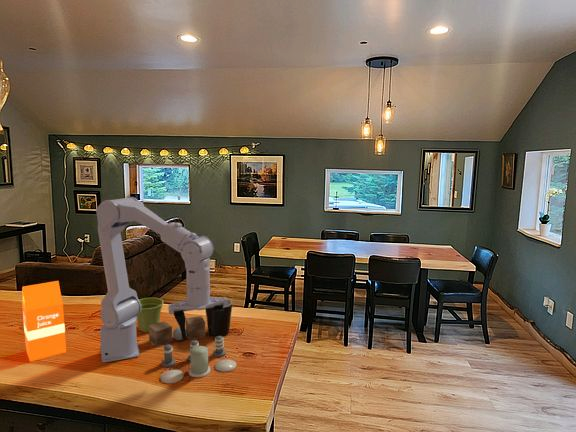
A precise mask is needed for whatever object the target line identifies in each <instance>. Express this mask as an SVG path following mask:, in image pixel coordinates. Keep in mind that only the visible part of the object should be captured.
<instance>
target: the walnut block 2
mask: <svg viewBox="0 0 576 432" xmlns="http://www.w3.org/2000/svg"><path fill="white" fill-rule="evenodd" d="M185 329H186V332H187V334H186V337H187V338H188V340H189V341H191V340H197V339H202V338H206V321H205V319H204V318H203V316H202V315H199V316H193V317H186V320H185Z"/></svg>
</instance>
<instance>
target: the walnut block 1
mask: <svg viewBox="0 0 576 432" xmlns="http://www.w3.org/2000/svg"><path fill="white" fill-rule="evenodd" d="M148 341H149V342H150V343H151V344H153V346H154V347H156V348H157V347H161V346H165V345H168V344H170V343H172V342H173V325H171V324H169V323H168V322H166V321H165V320H164V321H163V320H162V321H159V323H156V324H153V325H149V332H148Z"/></svg>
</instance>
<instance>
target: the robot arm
mask: <svg viewBox="0 0 576 432" xmlns="http://www.w3.org/2000/svg"><path fill="white" fill-rule="evenodd" d="M95 212H96V217H97V233H98V238H99V246H100V251H101V257H102V263H103V268H104V269H103V270H104V274H105V280H106V281H105V282H106V288H107V292H106V294H105V295H104V297H103V298H102V299H101V301H100V304H101V305H100V306H101V309H100V319H101V322H102V323H103V325H101V326H100V327H99V328H100V334H99V335H100V337H99V338H100V345H99V353H100V355H101V363H109V362H114V361H120V360H126V359H132V358H137V357H140V349H139V344H138V343H139V342H137V341H138V340H137V339H138V337H137V315H139V314H140V312H141V303H140V301H139V300H140V299H139V297H138V293H137V291H136V290H135V289H132V288H131V287H130V284H129V277H128V272H127V266H126V259H125V253H124V252H125V251H124V246H123V239H122V234H121V233H122V232H123V230H124V229H125V228H126V227H127V226H128V225H129V224H130V223H132V222H137V223H138V224H141V225H142V226H144V227H145V228H148V229H149V230H151V231H153V232H155V233H157V234H158V235H160V240H161V242H163V243H164V244H166V245H168V246H169V247H170V248H172V249H173V250H175V251H177V252H178V253H179V254H180V256H181V258H182V260H183V261H184V267H185V271H186V276H185V277H186V299H185V300H182V301H178V302H175V303H170V304H168V314H169V315H173V316H174V319H175V321H176V322H177V324H178V327H180V330H181V335H182V339H183V340H182V341H186V340H187V334H186V332H185V329H186V318H187V317H186V315H185V312H190V311H204V310H205V309H206V308H211V315H212V324H211V330H212V334H213V335H216V331H217V327H218V324H219V321H220V319H221V317H222V315H223V314H224V308H223V307H227V299H228V298H227V297H225V296H224V297H211V285H210V284H211V281H210V279H211V275H210V271H211V270H210V269H211V268H210V267H211V266H210V265H211V264H210V263H211V262H210V261H211V259H210V257H212V255H213V254H214V251H215V247H214V244H213V242H212V240H211V239H209V237H208V236H205V235H201V236H198V235H197V233H196V232H191V231H190V230H188V229H186V228H185V227H184V226H183V224H182V223H180V222H173V221H172V222H169V223H168V222H167V221H166V220H164V219H163V218H162V217H159V215H157V214H156V213H155V212H154V211H152V210H150V209H149V208H147V207H146V206H145V205H144V202H143V201H142V200H138V199H137V198H136V197H134V196H129V197H125V198H116V199H105V200H103V201H102V202H101V203H99V205H98V206H97V208H96V210H95ZM226 298H227V299H226ZM205 311H206V310H205Z"/></svg>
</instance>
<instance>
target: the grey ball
mask: <svg viewBox="0 0 576 432" xmlns="http://www.w3.org/2000/svg"><path fill="white" fill-rule="evenodd" d="M185 332H186V328H185ZM186 335H187V332H186ZM172 337H173V338H174V339H175V340H176V341H184V340H183V339H182V335H181V330H180V327H179V326H177V327H175V328H174V330H172Z"/></svg>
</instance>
